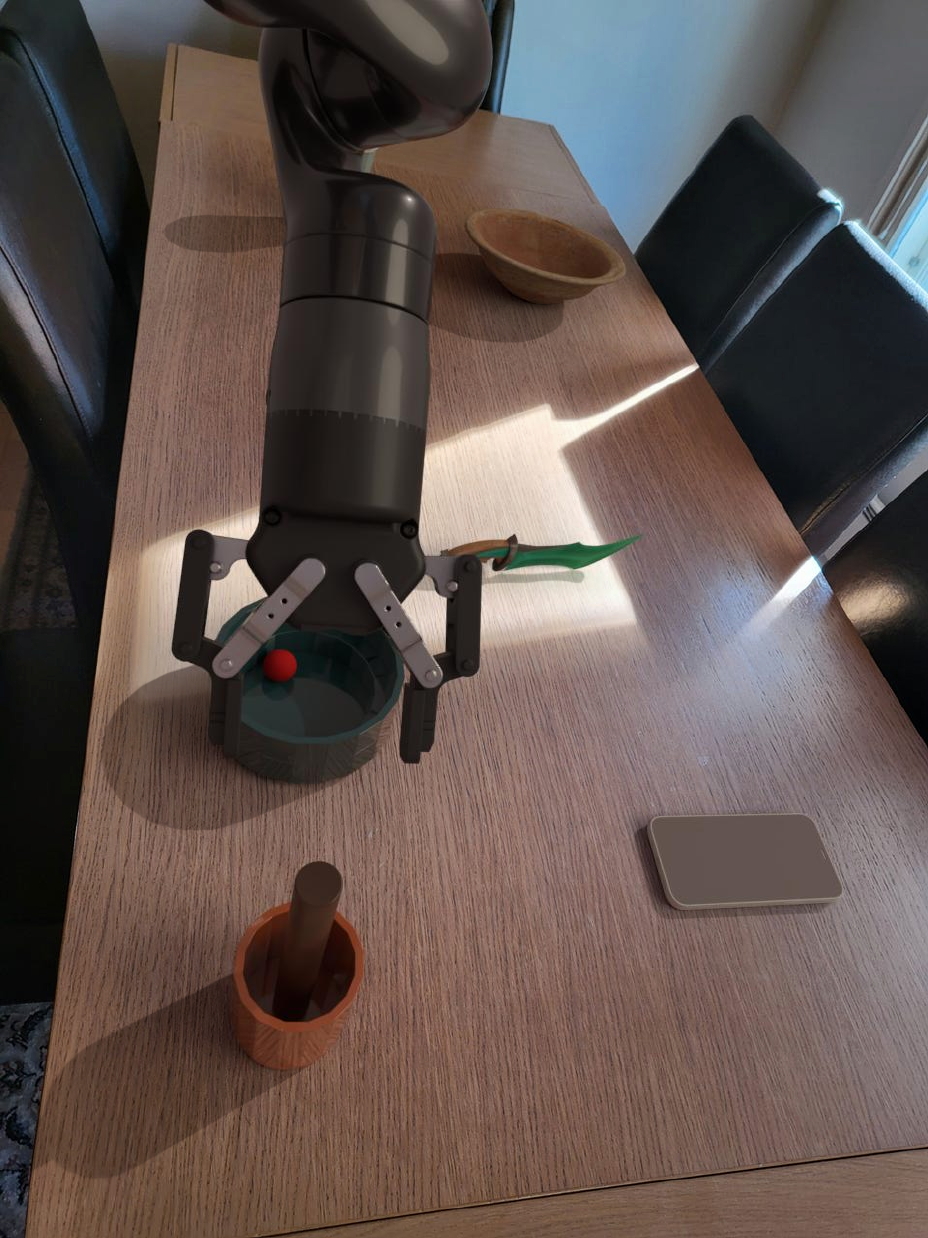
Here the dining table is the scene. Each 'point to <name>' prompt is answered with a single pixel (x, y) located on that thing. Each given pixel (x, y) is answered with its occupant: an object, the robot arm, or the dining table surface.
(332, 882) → the stirring stick
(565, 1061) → the dining table surface
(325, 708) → the mixing bowl
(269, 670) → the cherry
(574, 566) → the knife
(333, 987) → the utensil cup
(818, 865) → the smartphone
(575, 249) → the bowl
